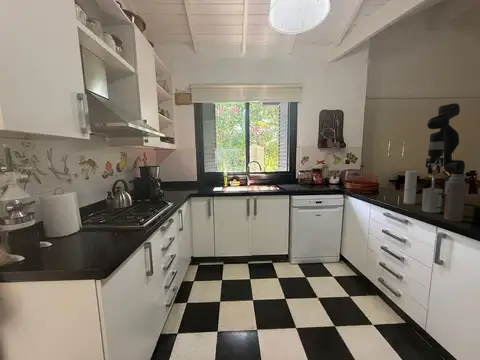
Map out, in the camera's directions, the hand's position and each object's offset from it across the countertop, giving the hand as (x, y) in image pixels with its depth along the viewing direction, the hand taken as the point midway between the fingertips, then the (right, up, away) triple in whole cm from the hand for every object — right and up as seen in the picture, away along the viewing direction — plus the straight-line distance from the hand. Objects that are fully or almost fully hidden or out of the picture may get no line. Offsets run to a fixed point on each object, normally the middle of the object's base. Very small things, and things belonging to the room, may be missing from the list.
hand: (433, 173), depth 151 cm
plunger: (0, -16, +2) cm, 16 cm away
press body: (+1, -25, +2) cm, 26 cm away
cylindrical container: (+4, -23, +28) cm, 36 cm away
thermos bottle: (-3, -28, -16) cm, 32 cm away
